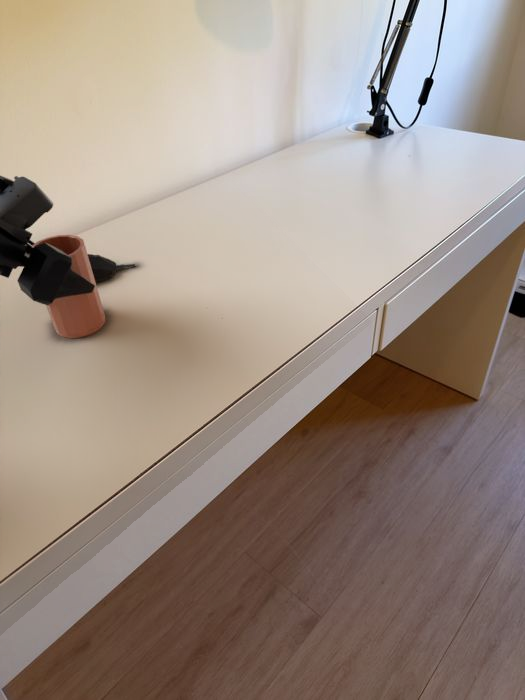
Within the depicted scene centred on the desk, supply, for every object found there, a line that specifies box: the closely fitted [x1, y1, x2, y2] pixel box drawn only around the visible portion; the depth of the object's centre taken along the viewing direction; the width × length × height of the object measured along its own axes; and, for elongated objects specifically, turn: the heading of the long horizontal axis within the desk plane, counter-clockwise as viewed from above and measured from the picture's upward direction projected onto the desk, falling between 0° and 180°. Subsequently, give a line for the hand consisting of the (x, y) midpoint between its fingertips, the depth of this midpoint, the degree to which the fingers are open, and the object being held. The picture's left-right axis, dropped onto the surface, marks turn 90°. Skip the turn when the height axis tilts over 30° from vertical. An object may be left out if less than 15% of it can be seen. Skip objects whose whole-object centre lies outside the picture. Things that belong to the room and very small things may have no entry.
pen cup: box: [28, 234, 106, 339], centre depth 71 cm, size 7×7×12 cm
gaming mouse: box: [87, 253, 136, 283], centre depth 84 cm, size 6×15×4 cm, turn 109°
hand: (75, 276), depth 71 cm, fingers open, 9 cm apart
